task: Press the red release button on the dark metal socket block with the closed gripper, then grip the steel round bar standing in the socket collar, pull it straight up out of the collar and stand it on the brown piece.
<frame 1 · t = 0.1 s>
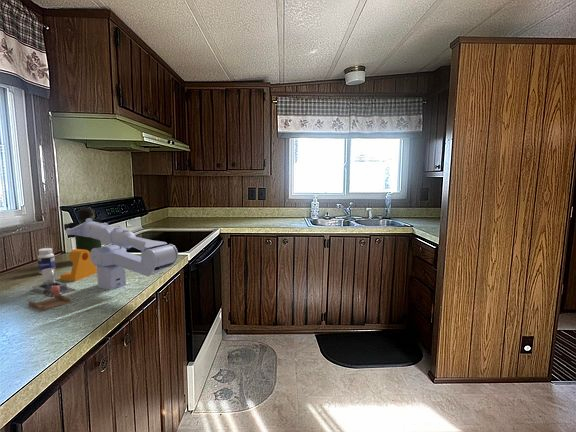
hand: (75, 225, 126), 22 cm above the counter, tool horizontal, fingers open, 7 cm apart
steel round bar: (50, 288, 115), point 1 cm above the counter, touching socket block
socket block: (53, 292, 114), on the counter
brown piece: (50, 306, 102), on the counter
release button: (55, 290, 110), point 2 cm above the counter, slide at 0.0 cm
bracket: (79, 279, 129), on the counter
pill bottle: (47, 272, 137), on the counter
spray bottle: (89, 260, 156), on the counter
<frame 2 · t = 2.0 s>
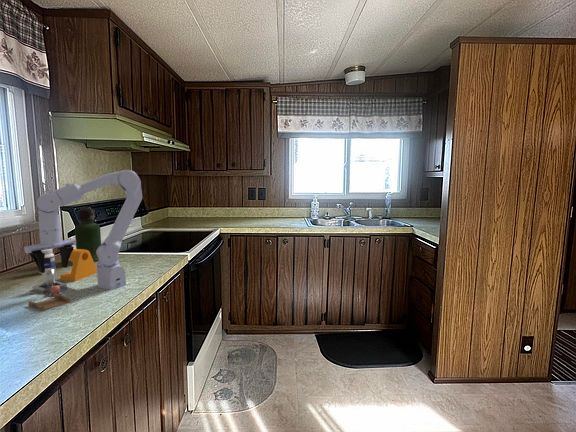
hand: (53, 269, 109), 9 cm above the counter, tool pointing down, fingers open, 6 cm apart
nothing on the counter moved.
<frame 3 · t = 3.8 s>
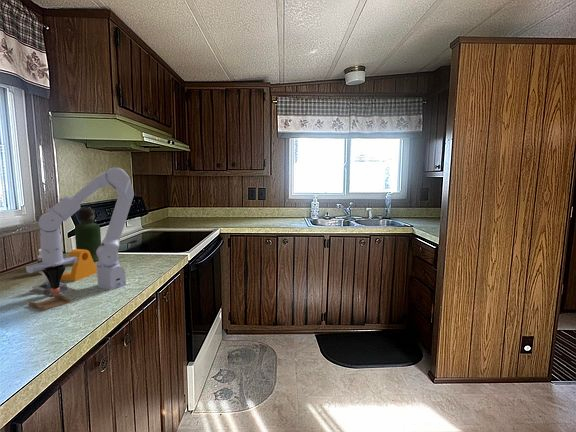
hand: (55, 287, 110), 3 cm above the counter, tool pointing down, fingers closed, pressing on release button
release button: (55, 291, 110), point 2 cm above the counter, slide at 0.5 cm, touching gripper
everything else where it was.
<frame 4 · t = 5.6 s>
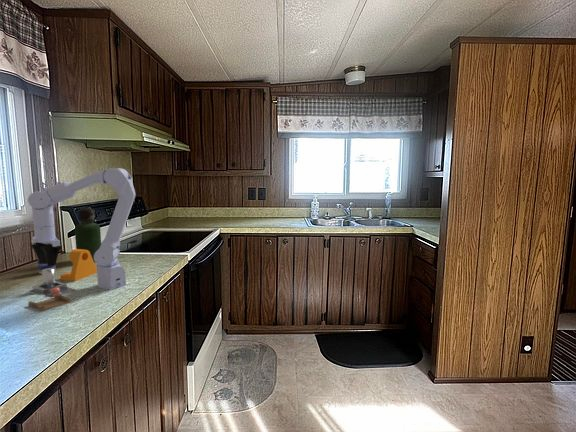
hand: (47, 264, 114), 10 cm above the counter, tool pointing down, fingers open, 5 cm apart
release button: (55, 292, 110), point 2 cm above the counter, slide at 0.7 cm
everything else where it was.
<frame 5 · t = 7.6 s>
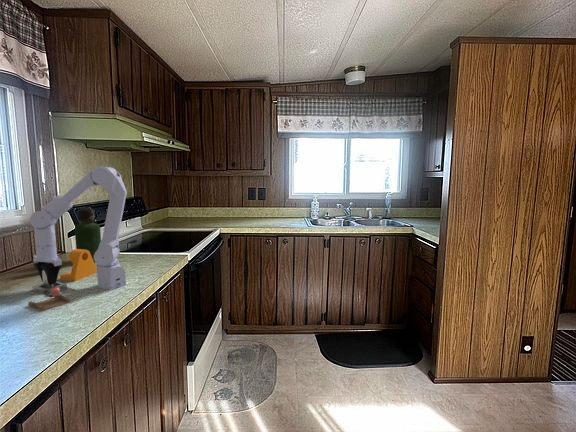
hand: (49, 282, 115), 3 cm above the counter, tool pointing down, fingers closed on steel round bar, 4 cm apart
steel round bar: (50, 288, 115), point 1 cm above the counter, touching gripper, socket block
everything else where it was.
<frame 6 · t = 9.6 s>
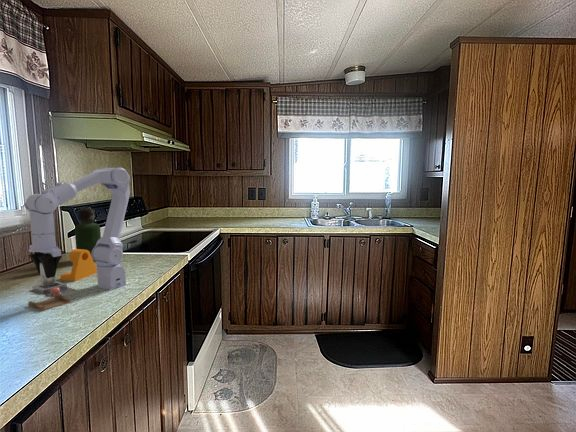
hand: (47, 276, 101), 10 cm above the counter, tool pointing down, fingers closed on steel round bar, 4 cm apart
steel round bar: (48, 283, 101), point 7 cm above the counter, touching gripper
everything else where it was.
when the fingers open (4 cm above the counter, at t = 11.5 s): steel round bar stays where it is, resting on brown piece.
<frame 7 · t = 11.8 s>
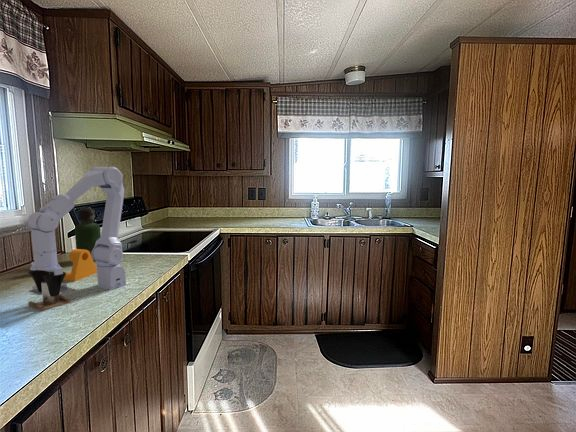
hand: (48, 293, 101), 4 cm above the counter, tool pointing down, fingers open, 6 cm apart
steel round bar: (50, 303, 102), point 1 cm above the counter, touching brown piece
everything else where it was.
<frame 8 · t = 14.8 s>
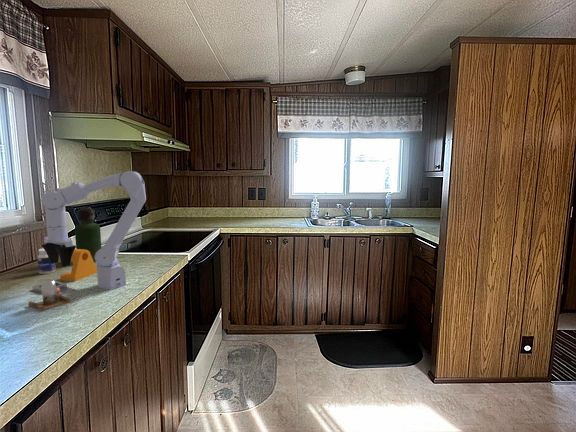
hand: (60, 264, 114), 10 cm above the counter, tool pointing down, fingers open, 7 cm apart
nothing on the counter moved.
at the end: steel round bar 0.2 cm off-centre on the brown piece, point 1.2 cm above the brown piece's base; steel round bar tilted 2°; the gripper is holding nothing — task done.
